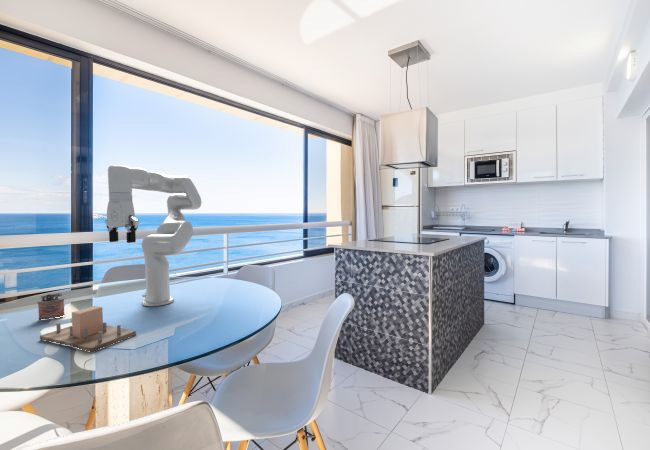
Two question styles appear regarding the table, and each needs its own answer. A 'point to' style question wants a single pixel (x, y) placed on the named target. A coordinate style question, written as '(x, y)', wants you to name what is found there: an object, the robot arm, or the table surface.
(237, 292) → the table surface
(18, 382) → the table surface
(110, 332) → the rack
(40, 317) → the lighter
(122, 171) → the robot arm
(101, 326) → the salmon pink block
